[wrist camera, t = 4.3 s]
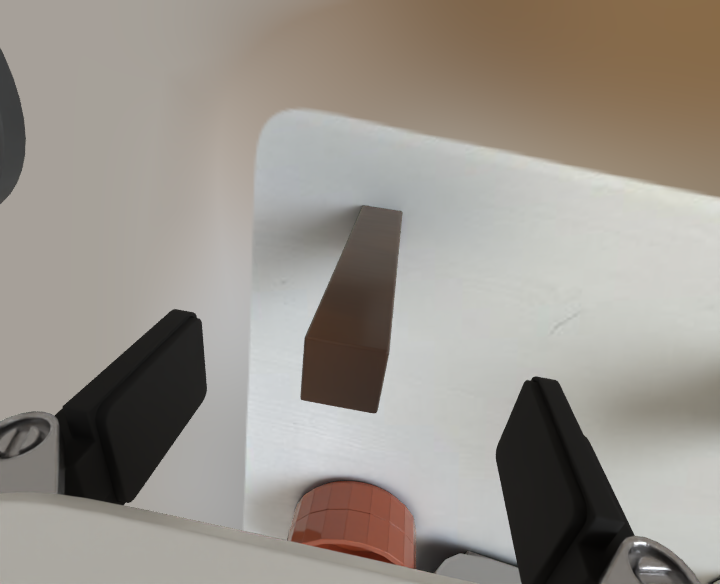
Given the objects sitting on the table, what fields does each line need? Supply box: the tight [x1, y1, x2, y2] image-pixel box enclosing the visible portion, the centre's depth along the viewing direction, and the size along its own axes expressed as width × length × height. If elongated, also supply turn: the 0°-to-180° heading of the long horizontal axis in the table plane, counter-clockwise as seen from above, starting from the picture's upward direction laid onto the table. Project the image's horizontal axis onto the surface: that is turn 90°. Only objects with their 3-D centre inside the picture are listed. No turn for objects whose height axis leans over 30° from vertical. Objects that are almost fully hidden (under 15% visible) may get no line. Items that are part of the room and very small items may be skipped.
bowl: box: [287, 481, 416, 569], centre depth 35 cm, size 11×11×6 cm
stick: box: [300, 206, 402, 413], centre depth 18 cm, size 2×2×14 cm
